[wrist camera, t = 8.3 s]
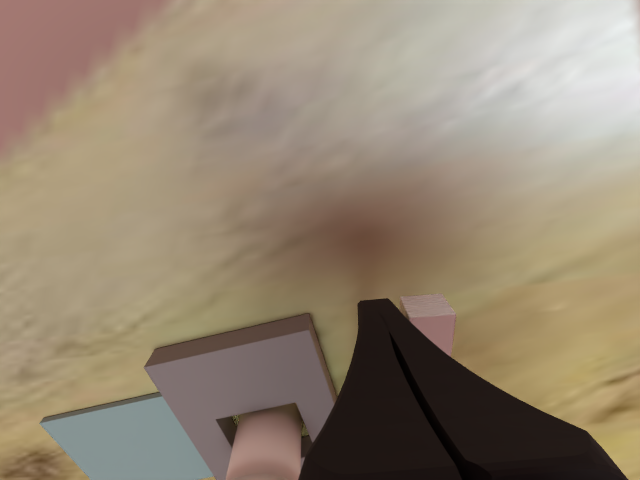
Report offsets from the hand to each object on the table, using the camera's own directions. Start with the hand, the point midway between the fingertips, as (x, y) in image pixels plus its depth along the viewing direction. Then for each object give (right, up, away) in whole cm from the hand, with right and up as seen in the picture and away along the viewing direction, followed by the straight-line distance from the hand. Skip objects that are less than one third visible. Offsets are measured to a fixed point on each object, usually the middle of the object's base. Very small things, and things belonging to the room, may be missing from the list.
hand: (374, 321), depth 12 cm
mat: (-16, -12, +12) cm, 23 cm away
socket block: (-6, -10, +11) cm, 16 cm away
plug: (-6, -10, +11) cm, 16 cm away
